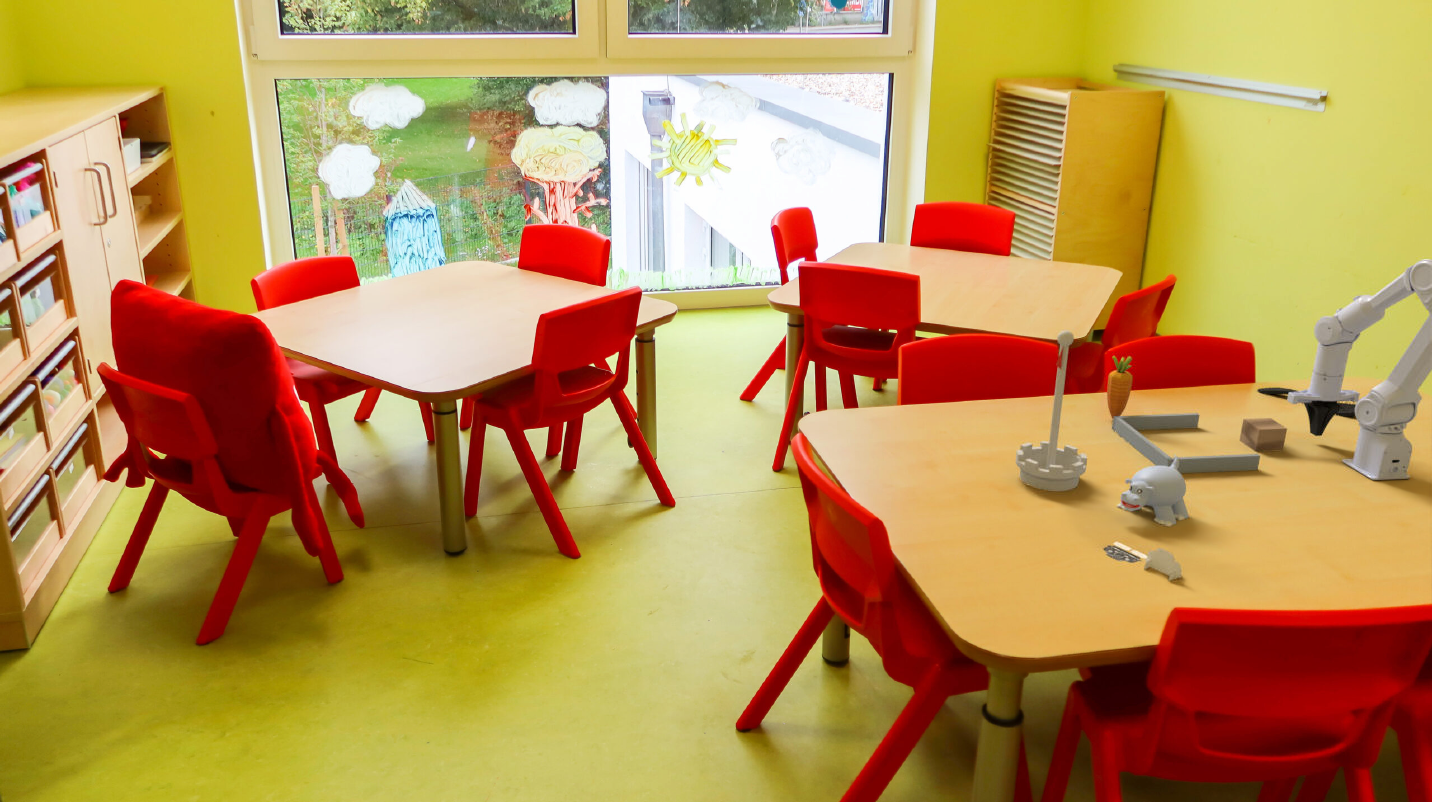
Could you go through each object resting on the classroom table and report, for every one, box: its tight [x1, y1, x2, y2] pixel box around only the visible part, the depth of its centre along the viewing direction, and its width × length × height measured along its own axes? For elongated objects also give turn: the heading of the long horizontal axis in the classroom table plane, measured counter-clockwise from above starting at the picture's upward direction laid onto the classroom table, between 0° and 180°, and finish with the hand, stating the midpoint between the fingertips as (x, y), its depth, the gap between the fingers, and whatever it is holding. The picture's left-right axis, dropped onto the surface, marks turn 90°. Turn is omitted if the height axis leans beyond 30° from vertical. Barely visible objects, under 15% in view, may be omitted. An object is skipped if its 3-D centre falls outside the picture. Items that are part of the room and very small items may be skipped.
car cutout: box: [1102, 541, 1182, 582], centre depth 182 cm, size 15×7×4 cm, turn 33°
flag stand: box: [1015, 329, 1088, 492], centre depth 208 cm, size 13×13×30 cm
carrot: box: [1106, 355, 1134, 420], centre depth 241 cm, size 5×5×15 cm
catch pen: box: [1111, 412, 1261, 474], centre depth 228 cm, size 24×19×3 cm
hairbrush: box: [1257, 386, 1356, 417], centre depth 254 cm, size 8×4×25 cm
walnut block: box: [1239, 417, 1288, 452], centre depth 229 cm, size 6×6×5 cm
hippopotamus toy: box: [1116, 454, 1190, 527], centre depth 198 cm, size 11×15×10 cm
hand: (1315, 434), depth 231 cm, fingers closed
